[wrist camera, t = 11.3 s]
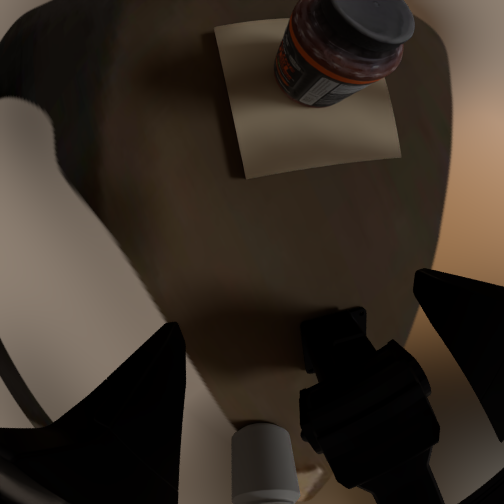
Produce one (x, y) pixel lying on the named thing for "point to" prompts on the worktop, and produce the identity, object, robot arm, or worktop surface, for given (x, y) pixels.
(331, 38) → the supplement bottle
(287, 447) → the can
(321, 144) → the beige square board
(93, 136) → the worktop surface
